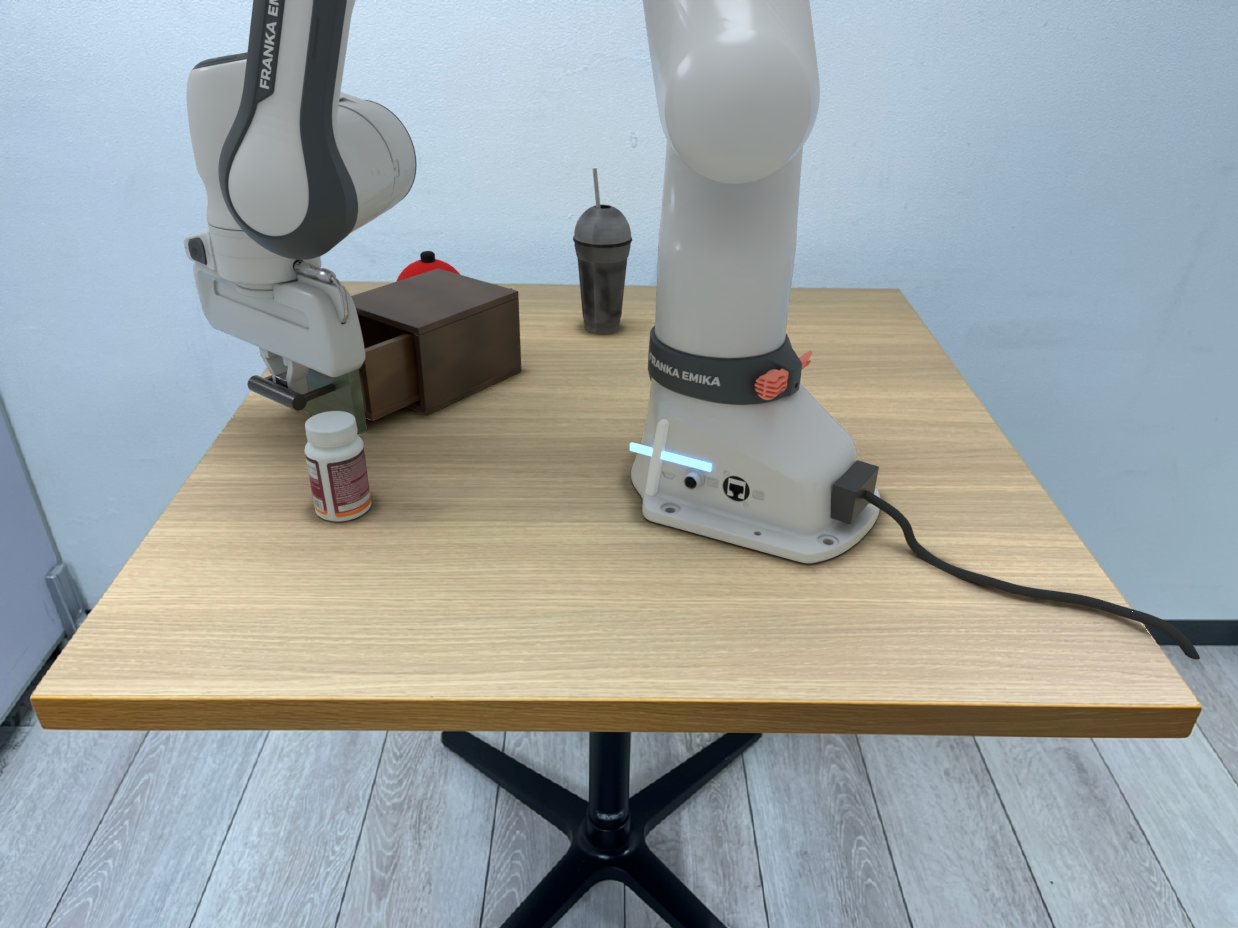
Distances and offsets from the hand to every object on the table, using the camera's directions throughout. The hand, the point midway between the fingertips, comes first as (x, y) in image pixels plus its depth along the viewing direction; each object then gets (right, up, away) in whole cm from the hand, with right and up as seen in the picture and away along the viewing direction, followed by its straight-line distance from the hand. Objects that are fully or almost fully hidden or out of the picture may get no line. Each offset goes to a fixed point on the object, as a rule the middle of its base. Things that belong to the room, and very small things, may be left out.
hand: (291, 392), depth 88 cm
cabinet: (+11, +3, +15) cm, 19 cm away
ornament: (+8, +10, +28) cm, 31 cm away
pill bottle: (+8, -11, -9) cm, 16 cm away
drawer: (+4, -1, +7) cm, 8 cm away
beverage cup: (+29, +10, +29) cm, 43 cm away
